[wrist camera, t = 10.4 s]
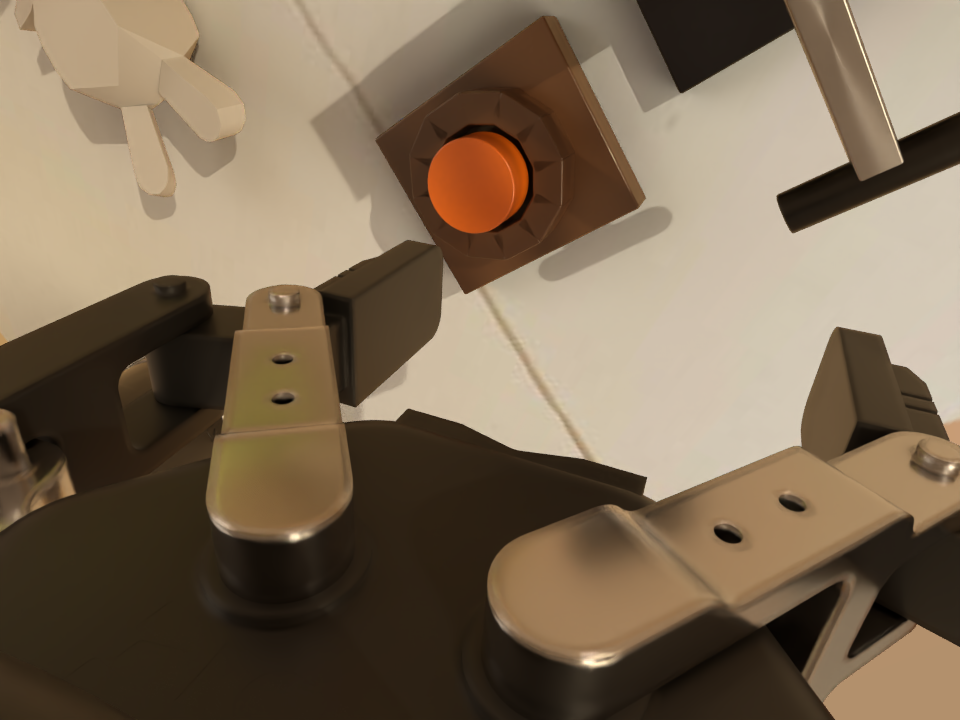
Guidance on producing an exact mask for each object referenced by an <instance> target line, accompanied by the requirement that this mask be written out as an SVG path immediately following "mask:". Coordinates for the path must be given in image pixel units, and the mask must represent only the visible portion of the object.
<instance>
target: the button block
mask: <svg viewBox="0 0 960 720" xmlns="http://www.w3.org/2000/svg"><path fill="white" fill-rule="evenodd" d="M482 131H486V132H493V133H497V134H499V135H501V136H503V137H505V138H507V139H508V140H509V141H511V142H512V143H513V144H514V145H515V146H516V147H517V149H518V150H519V151H520V153H521V154H522V156H523V158H524V160H525V163H526V166H527V170H528V176H529V186H528V192H527V195H526V198H525V200H524V202H523V204H522V206H521V207H520V209H519V210H518V211H517V212H516V213H515V214H514V215H513V216H511V217H510V218H508V219H507V220H506V221H504V222H503V223H502V224H500V225H499V226H497V227H496V228H494V229H492V230H490V231H487V232H484V233H466V232H463V231H460V230H458V229H455V228H454V227H452V226H450V225H449V224H448V223H447V222H445V221H444V220H443V219H442V218H441V216H440V215H439V214H438V213H437V211H436V209H435V208H434V206H433V204H432V201H431V199H430V195H429V191H428V172H429V168H430V165H431V162H432V160H433V158H434V156H435V155H436V153H437V152H438V151H439V150H440V149H441V147H443V146H444V145H445V144H447V143H448V142H450V141H452V140H455V139H457V138H460V137H463V136H466V135H469V134H472V133H475V132H482ZM376 142H377V144H378V146H379V147H380V149H381V151H382V153H383V154H384V156H385V158H386V159H387V161H388V163H389V165H390V166H391V168H392V170H393V172H394V173H395V175H396V177H397V178H398V180H399V182H400V184H401V185H402V187H403V189H404V190H405V192H406V194H407V196H408V197H409V199H410V201H411V202H412V204H413V206H414V208H415V209H416V211H417V213H418V214H419V216H420V218H421V220H422V221H423V223H424V225H425V227H426V228H427V230H428V232H429V233H430V235H431V237H432V239H433V240H434V242H435V244H436V245H437V246H439V247H440V248H441V250H442V254H443V257H444V259H445V261H446V263H447V264H448V266H449V268H450V270H451V271H452V273H453V275H454V276H455V278H456V280H457V282H458V283H459V285H460V287H461V288H462V290H463V292H464V293H465V294H468V293H470V292H472V291H474V290H476V289H478V288H480V287H482V286H484V285H486V284H488V283H490V282H492V281H494V280H496V279H498V278H500V277H502V276H504V275H506V274H508V273H510V272H512V271H514V270H516V269H518V268H520V267H522V266H524V265H526V264H528V263H530V262H532V261H534V260H536V259H538V258H540V257H542V256H544V255H546V254H548V253H550V252H552V251H554V250H556V249H558V248H560V247H562V246H564V245H566V244H568V243H570V242H572V241H574V240H576V239H578V238H580V237H582V236H584V235H586V234H588V233H590V232H592V231H594V230H596V229H598V228H600V227H602V226H604V225H606V224H608V223H610V222H612V221H614V220H616V219H618V218H620V217H622V216H624V215H626V214H628V213H630V212H632V211H634V210H636V209H638V208H639V207H640V205H641V204H642V203H643V201H644V200H645V199H646V197H645V195H644V193H643V191H642V189H641V187H640V185H639V183H638V181H637V179H636V177H635V175H634V173H633V171H632V169H631V167H630V165H629V163H628V161H627V159H626V157H625V155H624V153H623V151H622V149H621V147H620V145H619V143H618V141H617V139H616V137H615V135H614V133H613V131H612V129H611V127H610V125H609V122H608V120H607V118H606V116H605V114H604V112H603V110H602V108H601V106H600V104H599V102H598V100H597V98H596V96H595V94H594V92H593V90H592V88H591V86H590V84H589V82H588V80H587V78H586V76H585V74H584V72H583V70H582V68H581V66H580V64H579V62H578V60H577V58H576V56H575V54H574V52H573V50H572V48H571V46H570V44H569V42H568V40H567V38H566V36H565V34H564V32H563V30H562V28H561V26H560V24H559V22H558V20H557V18H556V17H555V16H542V17H540V18H539V19H537V20H536V21H535V22H533V23H532V24H531V25H529V26H528V27H527V28H525V29H524V30H523V31H521V32H520V33H518V34H517V35H516V36H514V37H513V38H512V39H510V40H509V41H508V42H506V43H505V44H503V45H502V46H501V47H499V48H498V49H497V50H495V51H494V52H493V53H491V54H490V55H489V56H487V57H486V58H484V59H483V60H482V61H480V62H479V63H478V64H476V65H475V66H474V67H472V68H471V69H470V70H468V71H467V72H465V73H464V74H463V75H461V76H460V77H459V78H457V79H456V80H455V81H453V82H452V83H451V84H449V85H448V86H446V87H445V88H444V89H442V90H441V91H440V92H438V93H437V94H436V95H434V96H433V97H431V98H430V99H429V100H427V101H426V102H425V103H423V104H422V105H421V106H419V107H418V108H417V109H415V110H414V111H412V112H411V113H410V114H408V115H407V116H406V117H404V118H403V119H402V120H400V121H399V122H398V123H396V124H395V125H393V126H392V127H391V128H389V129H388V130H387V131H385V132H384V133H383V134H381V135H380V136H378V137H377V138H376Z"/></svg>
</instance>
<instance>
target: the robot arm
mask: <svg viewBox="0 0 960 720" xmlns="http://www.w3.org/2000/svg"><path fill="white" fill-rule="evenodd" d="M442 276H443V254H442V250H441V248H440V247H439V246H436V245H431V244H426V243H421V242H416V241H411V240H407V241H404V242H403V243H401V244H399V245H397V246H396V247H394V248H392V249H391V250H389V251H387V252H385V253H384V254H382V255H380V256H378V257H376V258H372V259H368V260H364V261H362V262H360V263H358V264H356V265H354V266H353V267H351V268H349V270H346V271H344V272H342V273H340V274H339V275H338V277H336V276H335V277H333V278H332V279H330V280H328V281H326V282H324V283H323V284H321V285H319V286H317V287H316V288H314V289H312V288H309V287H305V286H299V285H276V286H270V287H266V288H262V289H259V290H257V291H255V292H253V293H251V294H250V295H249V296H248V297H247V299H246V305H245V307H237V306H224V305H212V298H211V291H210V285H209V284H208V282H206V281H205V280H202V279H200V278H196V277H190V276H177V275H169V276H163V277H159V278H156V279H151V280H148V281H145V282H143V283H140V284H138V285H136V286H133V287H131V288H129V289H127V290H124V291H122V292H120V293H118V294H115V295H113V296H111V297H109V298H106V299H104V300H102V301H100V302H97V303H95V304H93V305H91V306H88V307H86V308H84V309H82V310H80V311H77V312H75V313H73V314H71V315H68V316H66V317H64V318H62V319H59V320H57V321H55V322H53V323H50V324H48V325H46V326H44V327H41V328H39V329H37V330H35V331H32V332H30V333H28V334H26V335H23V336H21V337H19V338H17V339H14V340H12V341H10V342H8V343H5V344H3V345H1V346H0V720H835V719H834V718H833V716H832V715H831V714H830V712H829V711H828V710H827V708H826V707H825V706H824V704H823V702H824V700H825V699H826V698H827V696H828V695H829V694H830V693H831V692H832V691H833V689H834V688H835V687H836V686H837V685H839V684H840V683H841V682H842V681H843V680H845V679H846V678H848V677H849V676H850V675H852V674H853V673H854V672H856V671H857V670H859V669H860V668H861V667H863V666H864V665H866V664H867V663H868V662H870V661H871V660H873V659H874V658H875V657H877V656H878V655H879V654H881V653H882V652H884V651H885V650H886V649H888V648H889V647H891V646H892V645H893V644H895V643H896V642H897V641H899V640H900V639H902V638H903V637H904V636H906V635H907V634H909V633H910V632H911V631H912V630H913V629H914V628H915V627H916V625H917V624H918V625H920V626H922V627H923V628H925V629H927V630H929V631H931V632H933V633H935V634H937V635H938V636H940V637H942V638H944V639H946V640H948V641H950V642H952V643H953V644H955V645H957V646H959V647H960V446H959V445H957V444H955V443H952V442H950V440H949V438H948V436H947V433H946V431H945V428H944V426H943V423H942V421H941V419H940V416H939V415H937V412H938V411H937V409H936V407H935V404H934V402H932V397H931V394H930V392H929V390H928V387H927V385H926V383H925V382H924V381H922V380H921V379H920V378H919V377H918V376H917V375H915V374H914V373H913V372H912V371H911V370H910V369H908V368H907V367H903V366H898V365H893V364H891V362H890V359H889V356H888V353H887V350H886V347H885V344H884V341H883V338H882V336H881V335H876V334H871V333H866V332H861V331H856V330H851V329H846V328H841V327H836V328H835V329H834V331H833V332H832V334H831V337H830V339H829V342H828V344H827V347H826V350H825V352H824V355H823V358H822V361H821V364H820V366H819V369H818V372H817V375H816V377H815V380H814V383H813V386H812V388H811V391H810V394H809V397H808V399H807V402H806V406H805V409H804V413H803V418H802V424H801V442H802V447H801V446H793V447H790V448H788V449H785V450H783V451H780V452H778V453H775V454H773V455H770V456H768V457H766V458H763V459H761V460H758V461H756V462H753V463H751V464H748V465H746V466H744V467H741V468H739V469H736V470H734V471H731V472H729V473H726V474H724V475H722V476H719V477H717V478H714V479H712V480H709V481H707V482H704V483H702V484H700V485H697V486H695V487H692V488H690V489H687V490H685V491H682V492H680V493H678V494H675V495H673V496H670V497H668V498H665V499H663V500H660V501H658V502H655V501H654V500H652V499H650V498H648V497H646V496H644V495H643V493H644V488H645V484H646V480H647V477H644V476H640V475H637V474H633V473H630V472H626V471H623V470H619V469H616V468H612V467H609V466H605V465H602V464H599V463H595V462H592V461H588V460H585V459H579V458H571V457H563V456H556V455H548V454H540V453H532V452H525V451H518V450H514V449H512V448H509V447H507V446H505V445H503V444H501V443H499V442H497V441H495V440H493V439H491V438H489V437H487V436H485V435H483V434H481V433H479V432H477V431H475V430H473V429H471V428H469V427H467V426H465V425H463V424H460V423H457V422H453V421H450V420H446V419H443V418H439V417H436V416H432V415H429V414H425V413H422V412H418V411H415V410H412V409H407V410H406V411H405V412H404V413H403V414H402V415H401V416H400V417H399V418H398V419H397V420H396V421H384V420H364V421H353V422H346V423H344V422H342V416H341V409H340V403H343V404H346V405H350V406H353V407H357V406H358V405H359V404H360V403H361V402H362V401H363V400H364V399H366V398H367V397H368V396H369V395H370V394H371V393H372V392H373V391H374V390H376V389H377V388H378V387H379V386H380V385H381V384H382V383H383V382H384V381H385V380H387V379H388V378H389V377H390V376H391V375H392V374H393V373H394V372H395V371H397V370H398V369H399V368H400V367H401V366H402V365H403V364H404V363H405V362H406V361H408V360H409V359H410V358H411V357H412V356H413V355H414V354H415V353H416V352H418V351H419V350H420V349H421V348H422V347H423V346H424V345H425V344H426V343H427V342H429V341H430V340H431V339H432V338H433V336H434V335H435V333H436V331H437V329H438V326H439V322H440V317H441V302H442ZM143 356H146V358H144V359H142V360H140V361H138V362H136V363H134V364H133V365H132V366H130V367H129V368H128V369H126V370H125V368H126V367H127V366H128V365H130V364H131V363H133V362H134V361H136V360H138V359H140V358H141V357H143Z"/></svg>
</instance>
